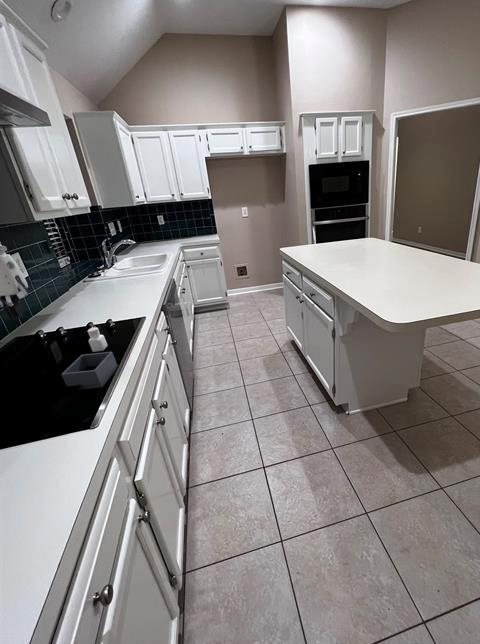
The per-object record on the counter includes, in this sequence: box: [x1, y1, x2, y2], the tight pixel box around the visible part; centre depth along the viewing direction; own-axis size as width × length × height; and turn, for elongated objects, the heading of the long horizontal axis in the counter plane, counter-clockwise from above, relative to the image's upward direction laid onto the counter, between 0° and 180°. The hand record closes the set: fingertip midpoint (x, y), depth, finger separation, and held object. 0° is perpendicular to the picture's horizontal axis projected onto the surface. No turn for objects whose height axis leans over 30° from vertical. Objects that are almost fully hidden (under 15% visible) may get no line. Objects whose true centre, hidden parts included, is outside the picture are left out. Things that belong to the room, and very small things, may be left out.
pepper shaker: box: [87, 327, 108, 353], centre depth 113 cm, size 4×4×10 cm
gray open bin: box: [60, 351, 119, 391], centre depth 99 cm, size 6×11×10 cm
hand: (16, 318), depth 87 cm, fingers closed
